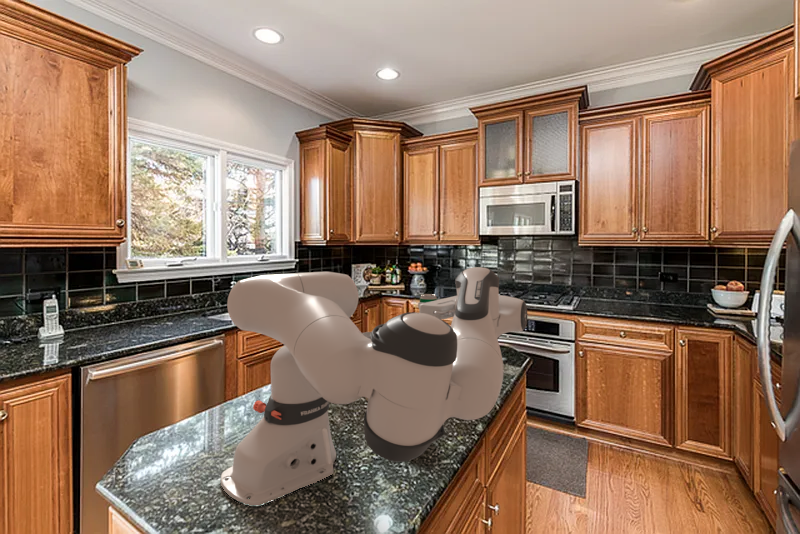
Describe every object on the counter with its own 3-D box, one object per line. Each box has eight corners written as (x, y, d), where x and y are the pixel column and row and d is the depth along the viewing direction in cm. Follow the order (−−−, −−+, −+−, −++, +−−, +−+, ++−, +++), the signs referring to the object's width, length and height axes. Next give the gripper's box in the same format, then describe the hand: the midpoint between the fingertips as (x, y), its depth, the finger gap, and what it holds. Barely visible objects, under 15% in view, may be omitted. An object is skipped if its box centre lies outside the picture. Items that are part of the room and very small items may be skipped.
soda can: (435, 338, 109) (436, 296, 108) (417, 337, 110) (418, 295, 109) (437, 334, 114) (438, 294, 113) (420, 333, 115) (421, 293, 114)
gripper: (446, 327, 95) (403, 320, 104) (485, 314, 111) (445, 309, 120) (446, 302, 95) (403, 297, 104) (485, 292, 111) (445, 289, 119)
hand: (426, 303), depth 112 cm, fingers closed on soda can, 5 cm apart
